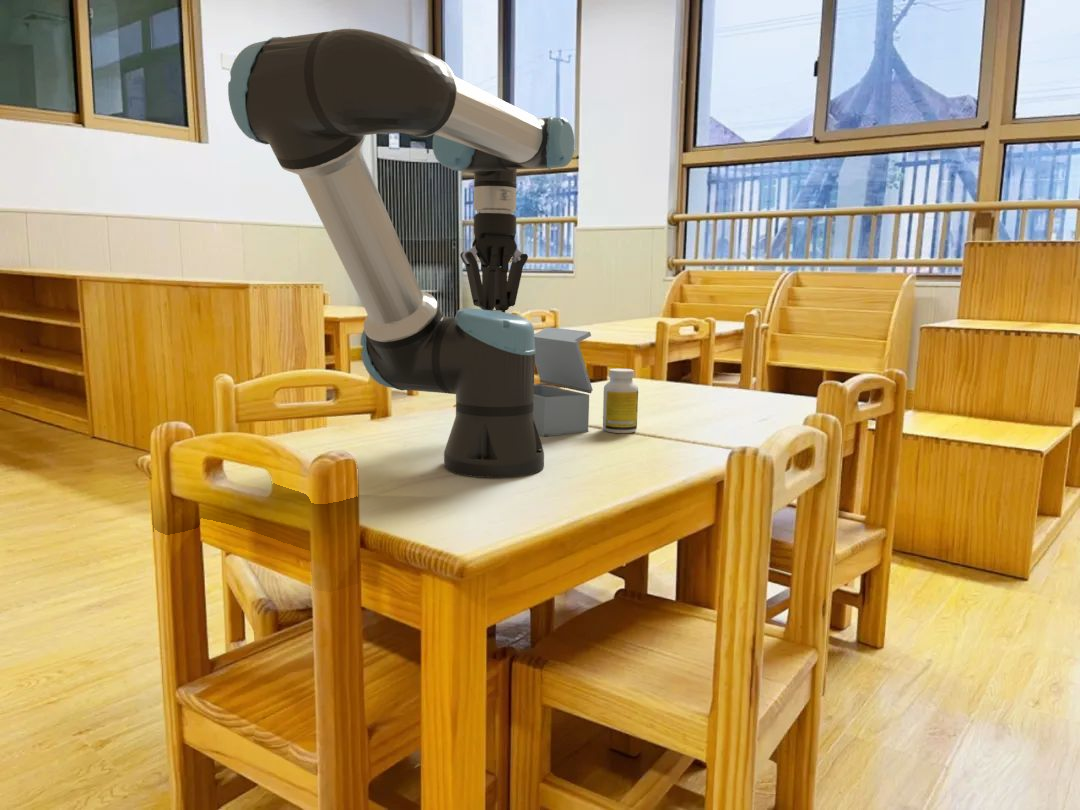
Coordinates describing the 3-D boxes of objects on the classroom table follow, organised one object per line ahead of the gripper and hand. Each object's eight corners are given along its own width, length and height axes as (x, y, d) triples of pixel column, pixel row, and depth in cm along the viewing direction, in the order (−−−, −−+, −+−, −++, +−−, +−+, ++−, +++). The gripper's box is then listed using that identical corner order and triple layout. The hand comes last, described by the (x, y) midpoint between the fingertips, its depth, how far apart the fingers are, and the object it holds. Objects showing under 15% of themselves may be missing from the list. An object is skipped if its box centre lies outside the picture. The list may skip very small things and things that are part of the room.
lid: (574, 343, 147) (594, 332, 149) (524, 336, 160) (544, 326, 162) (589, 393, 150) (609, 382, 152) (540, 383, 164) (558, 372, 166)
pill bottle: (638, 434, 150) (640, 372, 148) (603, 433, 150) (605, 371, 148) (635, 428, 156) (637, 368, 155) (601, 427, 157) (603, 367, 155)
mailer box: (543, 436, 146) (544, 398, 145) (498, 422, 159) (499, 387, 158) (588, 431, 152) (589, 394, 151) (540, 418, 165) (541, 384, 164)
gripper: (473, 209, 137) (472, 349, 140) (537, 214, 144) (535, 346, 148) (452, 212, 143) (452, 345, 147) (515, 216, 150) (513, 343, 154)
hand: (494, 346), depth 147 cm, fingers closed
